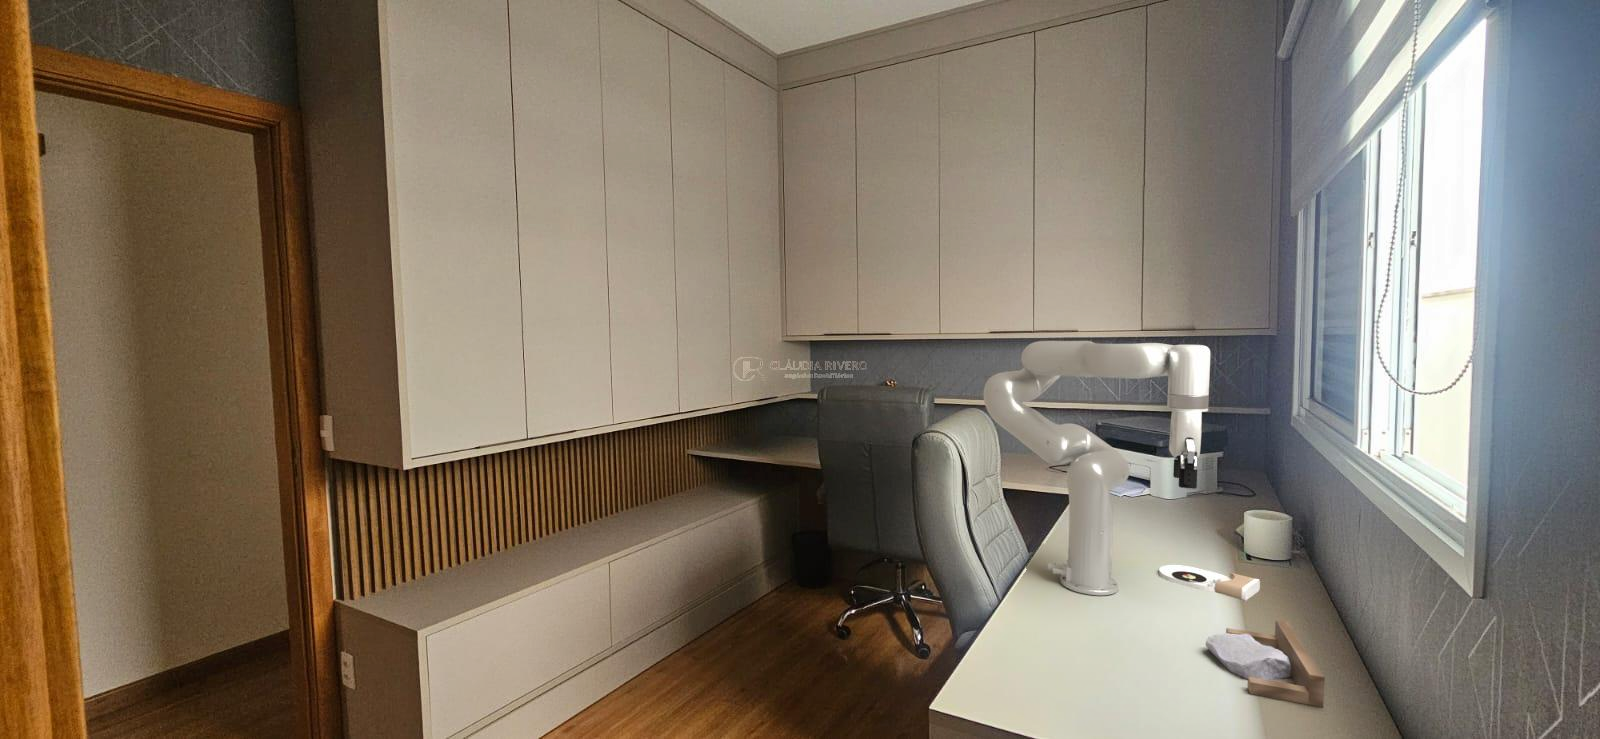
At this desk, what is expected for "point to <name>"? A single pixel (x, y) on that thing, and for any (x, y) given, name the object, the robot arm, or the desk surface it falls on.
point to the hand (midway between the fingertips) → (1184, 482)
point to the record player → (1211, 581)
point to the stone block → (1249, 656)
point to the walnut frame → (1301, 668)
